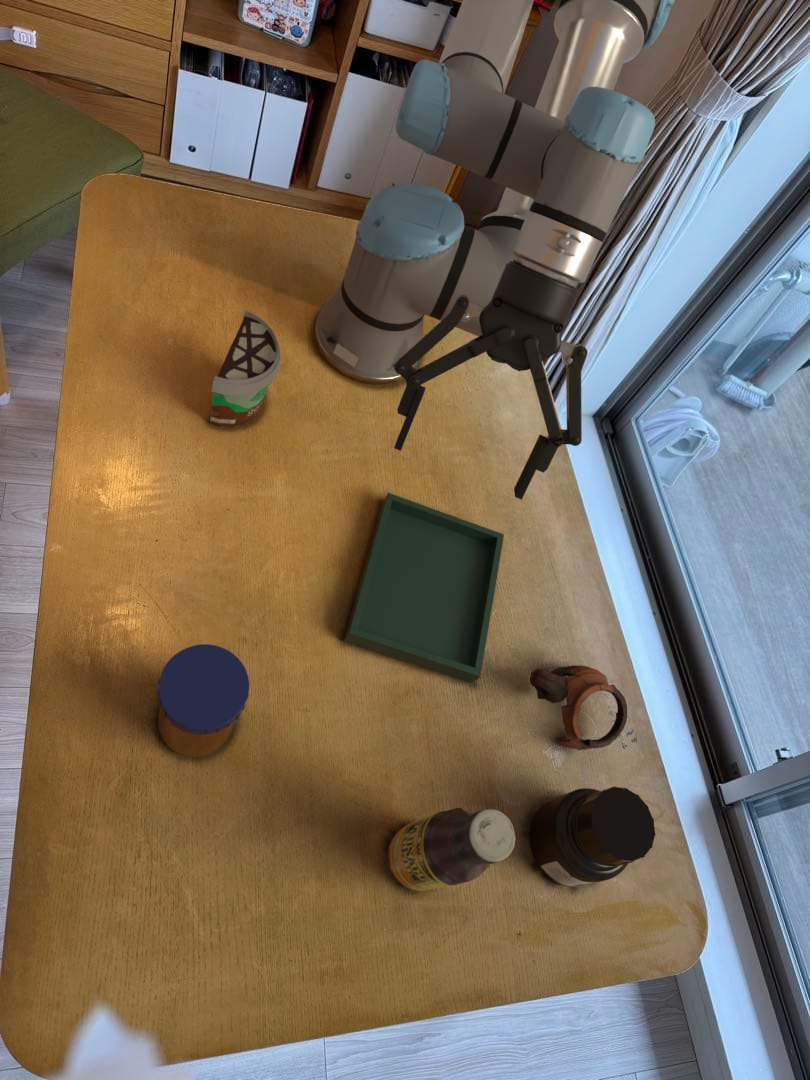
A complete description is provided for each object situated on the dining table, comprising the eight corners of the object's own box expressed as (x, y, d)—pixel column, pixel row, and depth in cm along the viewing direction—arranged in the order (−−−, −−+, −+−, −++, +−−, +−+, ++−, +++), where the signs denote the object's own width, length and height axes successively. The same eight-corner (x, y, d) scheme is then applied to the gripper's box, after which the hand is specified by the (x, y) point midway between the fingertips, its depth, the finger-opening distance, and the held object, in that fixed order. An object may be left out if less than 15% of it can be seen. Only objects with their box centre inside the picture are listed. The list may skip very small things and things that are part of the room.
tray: (382, 503, 97) (387, 492, 95) (496, 543, 99) (504, 534, 97) (343, 641, 86) (348, 632, 84) (472, 683, 89) (480, 676, 86)
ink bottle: (537, 897, 79) (595, 885, 69) (513, 808, 83) (565, 785, 73) (616, 876, 83) (682, 861, 73) (589, 792, 86) (648, 767, 76)
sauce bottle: (382, 827, 78) (449, 786, 61) (440, 824, 80) (520, 784, 63) (386, 898, 75) (459, 875, 58) (447, 894, 77) (533, 870, 60)
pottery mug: (601, 676, 95) (646, 691, 87) (571, 748, 94) (614, 769, 86) (525, 638, 90) (565, 650, 83) (493, 714, 89) (531, 733, 82)
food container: (254, 449, 95) (266, 398, 87) (205, 432, 94) (212, 379, 86) (282, 378, 102) (295, 325, 93) (236, 362, 101) (246, 306, 92)
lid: (176, 639, 71) (177, 632, 70) (258, 666, 73) (261, 659, 71) (143, 720, 67) (143, 714, 66) (230, 746, 68) (233, 741, 67)
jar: (174, 677, 79) (179, 638, 70) (242, 698, 80) (255, 663, 71) (146, 744, 75) (149, 713, 66) (218, 765, 76) (230, 737, 67)
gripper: (421, 220, 69) (342, 434, 77) (673, 327, 71) (570, 526, 79) (426, 220, 76) (353, 417, 84) (655, 318, 78) (562, 502, 86)
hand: (458, 470), depth 81 cm, fingers open, 13 cm apart
